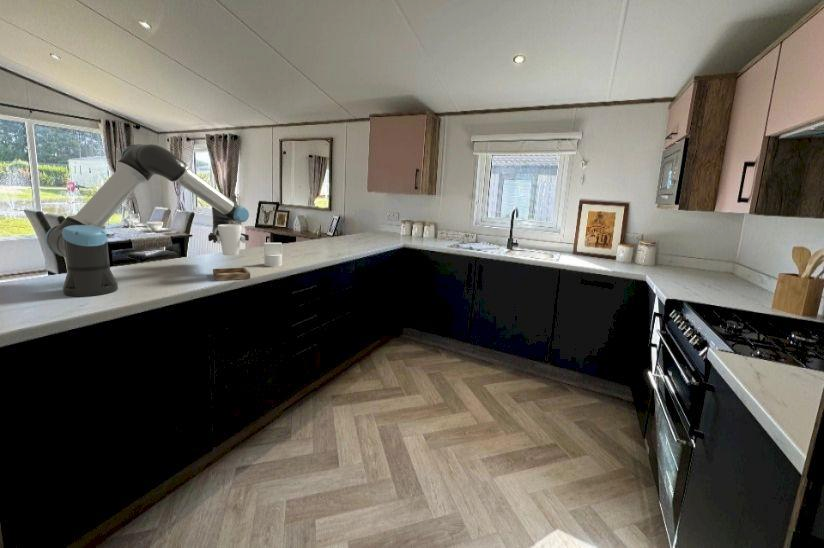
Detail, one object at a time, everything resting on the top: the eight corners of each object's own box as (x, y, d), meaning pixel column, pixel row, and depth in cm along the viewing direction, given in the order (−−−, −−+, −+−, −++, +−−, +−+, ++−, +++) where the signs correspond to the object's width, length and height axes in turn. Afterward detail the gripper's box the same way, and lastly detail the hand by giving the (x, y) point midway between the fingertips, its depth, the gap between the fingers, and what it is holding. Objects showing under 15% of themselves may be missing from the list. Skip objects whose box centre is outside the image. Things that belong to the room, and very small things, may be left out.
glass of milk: (265, 266, 195) (265, 244, 193) (263, 263, 203) (263, 241, 200) (283, 266, 199) (283, 244, 197) (280, 263, 207) (280, 242, 205)
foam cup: (232, 256, 163) (231, 227, 160) (214, 254, 164) (213, 225, 161) (246, 253, 172) (245, 225, 169) (228, 251, 173) (227, 224, 171)
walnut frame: (216, 280, 161) (216, 275, 160) (213, 274, 172) (212, 268, 171) (250, 278, 168) (250, 273, 168) (244, 272, 179) (244, 267, 179)
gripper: (248, 241, 188) (258, 248, 170) (198, 241, 176) (203, 249, 158) (248, 226, 186) (258, 231, 168) (198, 226, 174) (202, 231, 156)
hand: (231, 240), depth 163 cm, fingers closed on foam cup, 9 cm apart
